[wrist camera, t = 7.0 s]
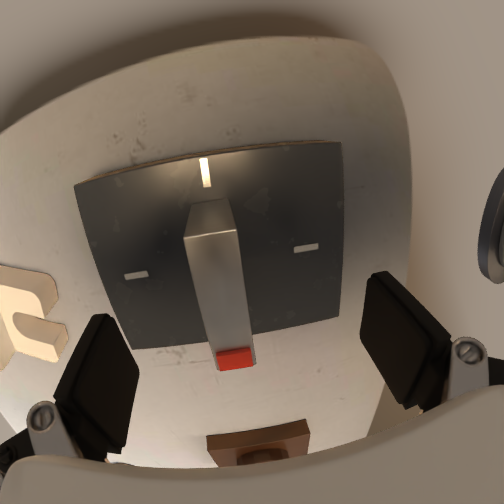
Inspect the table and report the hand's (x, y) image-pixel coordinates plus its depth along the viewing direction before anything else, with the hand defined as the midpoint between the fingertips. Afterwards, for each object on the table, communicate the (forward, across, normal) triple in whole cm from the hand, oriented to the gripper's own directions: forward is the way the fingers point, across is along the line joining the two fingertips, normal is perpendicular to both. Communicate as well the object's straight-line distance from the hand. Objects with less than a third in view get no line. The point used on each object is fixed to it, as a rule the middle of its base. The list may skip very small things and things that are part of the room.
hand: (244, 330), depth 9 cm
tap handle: (+6, +1, 0) cm, 6 cm away
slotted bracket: (+8, +21, +2) cm, 23 cm away
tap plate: (+9, +1, 0) cm, 9 cm away
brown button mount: (+9, +1, +29) cm, 30 cm away
